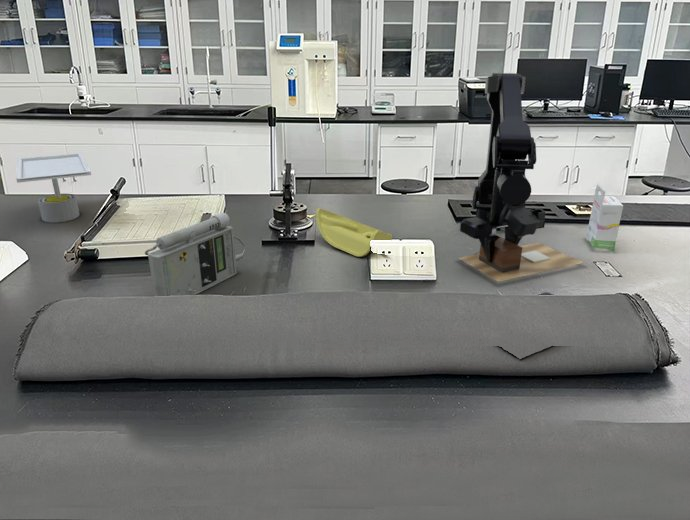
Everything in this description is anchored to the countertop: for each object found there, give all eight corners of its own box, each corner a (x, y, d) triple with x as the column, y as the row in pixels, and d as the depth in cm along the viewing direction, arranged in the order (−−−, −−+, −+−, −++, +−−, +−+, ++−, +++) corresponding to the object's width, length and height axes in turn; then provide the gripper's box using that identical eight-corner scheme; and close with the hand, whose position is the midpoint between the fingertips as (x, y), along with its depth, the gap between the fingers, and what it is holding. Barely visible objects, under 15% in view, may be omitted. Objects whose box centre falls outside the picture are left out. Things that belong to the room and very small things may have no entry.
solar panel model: (100, 225, 145) (90, 171, 139) (28, 235, 137) (15, 179, 132) (91, 200, 167) (82, 152, 162) (29, 207, 160) (17, 158, 154)
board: (457, 261, 122) (458, 257, 121) (538, 246, 131) (539, 242, 131) (497, 285, 110) (498, 281, 110) (583, 266, 119) (584, 262, 119)
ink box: (614, 252, 127) (627, 192, 121) (592, 251, 128) (604, 191, 122) (606, 240, 135) (617, 183, 129) (585, 239, 136) (595, 182, 130)
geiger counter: (159, 242, 94) (252, 207, 114) (135, 235, 97) (230, 202, 117) (168, 311, 100) (256, 266, 119) (146, 303, 103) (235, 260, 122)
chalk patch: (518, 255, 123) (518, 253, 123) (534, 252, 125) (535, 250, 125) (533, 263, 119) (533, 261, 118) (550, 259, 121) (550, 257, 120)
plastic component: (396, 236, 130) (374, 229, 122) (385, 264, 131) (363, 259, 123) (337, 214, 142) (313, 206, 134) (327, 240, 142) (304, 233, 134)
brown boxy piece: (478, 259, 120) (480, 238, 118) (495, 256, 122) (498, 235, 120) (501, 272, 114) (504, 250, 112) (519, 268, 116) (522, 247, 114)
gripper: (496, 207, 101) (487, 281, 107) (569, 196, 108) (557, 266, 114) (461, 192, 111) (455, 261, 117) (531, 183, 118) (522, 249, 124)
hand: (498, 260), depth 118 cm, fingers closed on brown boxy piece, 5 cm apart
